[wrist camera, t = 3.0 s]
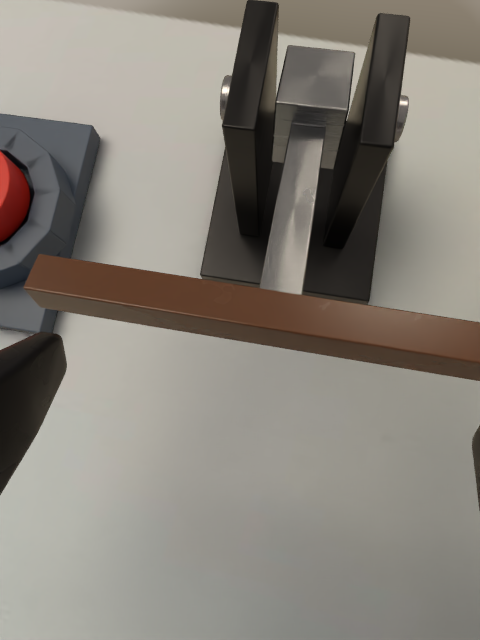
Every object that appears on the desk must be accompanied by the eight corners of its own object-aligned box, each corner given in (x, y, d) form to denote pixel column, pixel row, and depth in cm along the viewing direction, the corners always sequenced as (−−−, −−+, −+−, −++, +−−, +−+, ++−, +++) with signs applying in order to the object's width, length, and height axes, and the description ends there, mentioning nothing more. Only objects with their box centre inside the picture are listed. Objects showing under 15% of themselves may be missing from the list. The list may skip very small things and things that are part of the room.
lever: (514, 397, 12) (573, 365, 10) (48, 318, 13) (9, 274, 11) (491, 132, 16) (529, 70, 14) (143, 90, 17) (129, 26, 15)
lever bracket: (364, 307, 22) (440, 231, 12) (203, 281, 23) (155, 191, 13) (386, 139, 23) (469, -46, 14) (234, 120, 24) (212, -68, 14)
